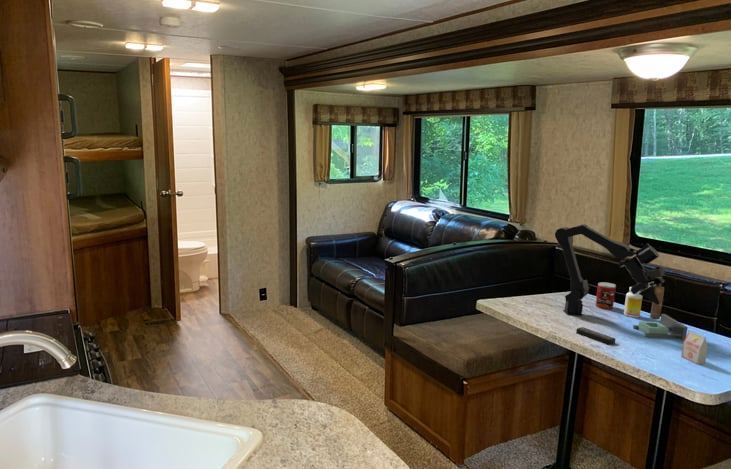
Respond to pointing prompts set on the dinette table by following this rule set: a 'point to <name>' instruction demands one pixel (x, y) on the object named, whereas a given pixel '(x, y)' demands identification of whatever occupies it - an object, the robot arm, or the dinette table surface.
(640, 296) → the supplement bottle
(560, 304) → the dinette table surface
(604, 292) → the canned food
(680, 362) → the dinette table surface
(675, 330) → the rail and backstop frame
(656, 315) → the walnut dowel
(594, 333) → the multiport hub
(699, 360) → the gable top carton
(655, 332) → the sliding socket block
